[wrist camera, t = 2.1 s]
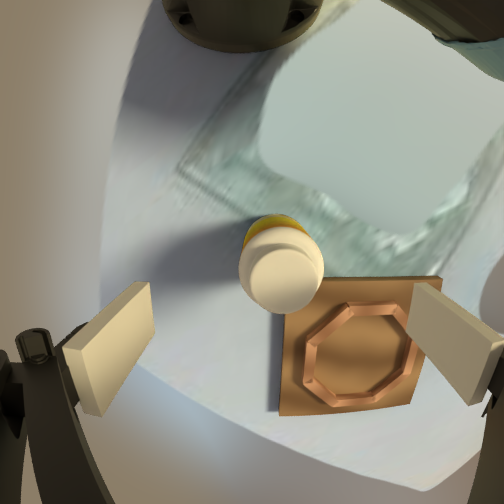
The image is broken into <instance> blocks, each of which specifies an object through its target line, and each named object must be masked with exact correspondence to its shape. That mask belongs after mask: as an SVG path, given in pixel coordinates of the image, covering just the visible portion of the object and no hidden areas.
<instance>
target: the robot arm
mask: <svg viewBox="0 0 504 504" xmlns="http://www.w3.org/2000/svg"><path fill="white" fill-rule="evenodd" d="M381 1H382V2H384V3H386V4H388V5H390V6H391V7H393V8H395V9H396V10H398V11H400V12H401V13H403V14H405V15H406V16H408V17H410V18H411V19H413V20H414V21H416V22H417V23H419V24H420V25H422V26H423V27H425V28H426V29H428V30H429V31H431V32H432V35H433V36H434V37H435V39H436V40H437V41H438V42H440V43H442V44H443V45H445V46H448V47H451V48H453V49H454V50H456V51H457V52H458V53H460V54H461V55H462V56H464V57H465V58H466V59H468V60H469V61H470V62H471V63H473V64H474V65H475V66H476V67H478V68H479V69H480V70H481V71H483V72H484V73H486V74H488V75H489V76H491V77H493V78H496V79H498V80H500V81H504V0H381ZM162 3H163V7H164V9H165V12H166V14H167V16H168V17H169V19H170V20H171V22H172V24H173V25H174V27H175V28H176V29H177V30H178V31H179V32H180V33H181V34H182V35H183V36H184V37H186V38H187V39H188V40H190V41H192V42H194V43H195V44H198V45H200V46H202V47H205V48H208V49H212V50H216V51H222V52H229V53H250V52H258V51H264V50H268V49H272V48H276V47H279V46H281V45H284V44H286V43H288V42H290V41H292V40H294V39H296V38H297V37H299V36H300V35H302V34H303V33H304V32H305V31H306V30H308V28H309V27H310V26H311V25H312V24H313V23H314V21H315V20H316V18H317V16H318V14H319V11H320V9H321V6H322V3H323V0H162ZM405 332H406V333H407V334H408V335H409V336H410V337H411V338H412V340H413V341H414V342H415V343H416V344H417V345H418V346H419V348H420V349H421V350H422V351H423V352H424V353H425V355H426V356H427V357H428V358H429V359H430V360H431V362H432V363H433V364H434V365H435V366H436V367H437V369H438V370H439V371H440V372H441V373H442V375H443V376H444V377H445V378H446V379H447V381H448V382H449V383H450V384H451V386H452V387H453V388H454V389H455V390H456V392H457V393H458V394H459V395H460V397H461V398H462V399H463V400H464V402H465V403H466V404H467V405H468V406H470V405H473V404H477V403H480V402H482V400H483V398H484V396H485V393H486V391H487V389H488V390H489V391H490V392H491V393H492V395H491V397H490V400H489V402H488V404H487V406H486V408H485V410H484V412H483V414H482V416H481V417H484V415H485V414H486V413H487V418H486V425H485V431H484V437H483V443H482V448H481V453H480V458H479V463H478V467H477V471H476V475H475V479H474V482H473V486H472V490H471V493H470V496H469V500H468V503H467V504H504V338H503V337H502V336H500V335H499V334H498V333H496V332H495V331H494V330H492V329H491V328H490V327H488V326H487V325H486V324H484V323H483V322H482V321H480V320H479V319H478V318H476V317H475V316H474V315H472V314H471V313H469V312H468V311H467V310H465V309H464V308H462V307H461V306H460V305H458V304H457V303H455V302H454V301H453V300H451V299H450V298H448V297H447V296H445V295H444V294H443V293H441V292H440V291H438V290H437V289H435V288H434V287H432V286H431V285H429V284H428V283H426V282H425V283H414V288H413V295H412V300H411V306H410V311H409V317H408V322H407V327H406V331H405ZM154 334H155V328H154V320H153V312H152V304H151V294H150V284H149V282H134V283H133V284H132V285H130V286H129V287H128V288H127V289H126V290H125V291H123V292H122V293H121V294H120V295H119V296H118V297H117V298H115V299H114V300H113V301H112V302H111V303H110V304H109V305H107V306H106V307H105V308H104V309H103V310H102V311H101V312H100V313H99V314H97V315H96V316H95V317H94V318H93V319H92V320H91V321H90V322H86V323H84V324H82V325H80V326H78V327H76V328H75V329H74V330H73V331H72V332H71V334H69V335H67V336H66V338H65V339H63V340H62V341H61V342H60V343H59V344H57V346H55V347H54V346H53V343H52V339H51V335H50V333H49V331H48V330H46V329H43V328H34V329H29V330H25V331H23V332H22V333H20V334H19V335H18V336H16V339H15V342H16V345H17V349H18V352H19V355H20V358H21V360H22V363H14V362H10V361H9V359H8V356H7V353H6V352H5V351H4V350H0V504H20V503H21V484H22V472H23V462H24V454H25V447H26V440H27V434H28V441H29V447H30V453H31V457H32V463H33V468H34V473H35V477H36V482H37V486H38V489H39V493H40V497H41V501H42V504H115V502H114V500H113V498H112V496H111V494H110V493H109V491H108V489H107V486H106V484H105V482H104V480H103V478H102V476H101V474H100V472H99V469H98V467H97V465H96V462H95V461H94V458H93V455H92V453H91V451H90V448H89V446H88V443H87V440H86V438H85V435H84V432H83V430H82V427H81V424H80V421H79V418H78V415H77V413H76V410H75V408H74V407H75V406H76V404H77V403H78V402H79V401H80V404H81V406H82V409H83V412H84V413H86V414H90V415H94V416H98V417H103V415H104V413H105V412H106V410H107V409H108V407H109V405H110V404H111V402H112V400H113V399H114V397H115V395H116V394H117V392H118V391H119V389H120V387H121V386H122V384H123V383H124V381H125V379H126V378H127V376H128V374H129V373H130V371H131V370H132V368H133V367H134V365H135V364H136V362H137V360H138V359H139V357H140V356H141V354H142V353H143V351H144V349H145V348H146V346H147V345H148V343H149V342H150V340H151V339H152V337H153V336H154Z"/></svg>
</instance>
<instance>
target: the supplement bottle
mask: <svg viewBox="0 0 504 504" xmlns="http://www.w3.org/2000/svg"><path fill="white" fill-rule="evenodd" d="M323 273H324V263H323V258H322V254H321V252H320V250H319V248H318V246H317V245H316V243H315V242H314V241H313V239H312V238H311V237H310V236H309V235H308V233H307V232H306V231H305V230H304V229H303V227H302V226H301V225H300V224H299V223H298V222H297V221H296V220H294V219H293V218H291V217H289V216H286V215H282V214H270V215H266V216H264V217H261V218H260V219H258V220H257V221H255V222H254V223H253V224H252V225H251V227H250V228H249V230H248V231H247V233H246V236H245V239H244V243H243V247H242V252H241V255H240V259H239V278H240V282H241V285H242V287H243V289H244V290H245V292H246V293H247V295H248V296H249V297H250V298H251V299H252V300H253V301H255V302H256V303H258V304H259V305H260V306H261V307H263V308H264V309H266V310H267V311H270V312H273V313H277V314H289V313H293V312H296V311H298V310H300V309H302V308H304V307H305V306H306V305H307V304H308V303H309V302H310V301H311V300H312V298H313V297H314V295H315V293H316V291H317V290H318V288H319V286H320V284H321V281H322V278H323Z"/></svg>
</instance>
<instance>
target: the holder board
mask: <svg viewBox="0 0 504 504" xmlns="http://www.w3.org/2000/svg"><path fill="white" fill-rule="evenodd" d="M442 281H443V279H442V278H440V277H439V276H399V277H323V278H322V281H321V284H320V286H319V288H318V290H317V291H316V293H315V295H314V297H313V298H312V300H311V301H310V302H309V303H308V304H307V305H306V306H305V307H304V308H302V309H300V310H298V311H296V312H293V313H289V314H284V334H283V352H282V368H281V384H280V398H279V416H305V415H323V414H336V413H347V412H357V411H365V410H373V409H380V408H387V407H394V406H400V405H406V404H410V401H411V399H412V396H413V393H414V390H415V387H416V384H417V381H418V378H419V375H420V372H421V369H422V366H423V362H424V359H425V353H424V352H423V351H422V350H421V349H420V348H419V346H418V345H417V344H416V343H415V342H414V341H413V340H412V338H411V337H410V336H409V335H408V334H407V333H406V332H405V331H406V327H407V322H408V317H409V311H410V306H411V300H412V295H413V288H414V283H425V282H426V283H428V284H429V285H431V286H432V287H434V288H435V289H437V290H438V291H440V292H441V287H442Z"/></svg>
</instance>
